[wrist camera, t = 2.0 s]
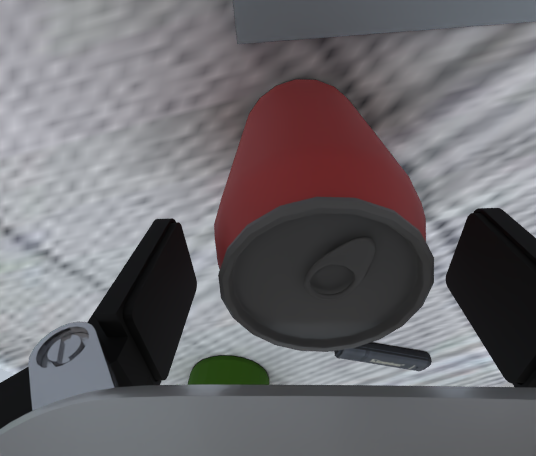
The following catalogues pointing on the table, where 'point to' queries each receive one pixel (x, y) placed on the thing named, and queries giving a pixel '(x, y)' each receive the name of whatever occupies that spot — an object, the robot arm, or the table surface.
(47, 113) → the table surface
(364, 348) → the usb stick
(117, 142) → the table surface
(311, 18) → the mat
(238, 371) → the wine bottle
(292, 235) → the beer can
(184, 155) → the table surface
